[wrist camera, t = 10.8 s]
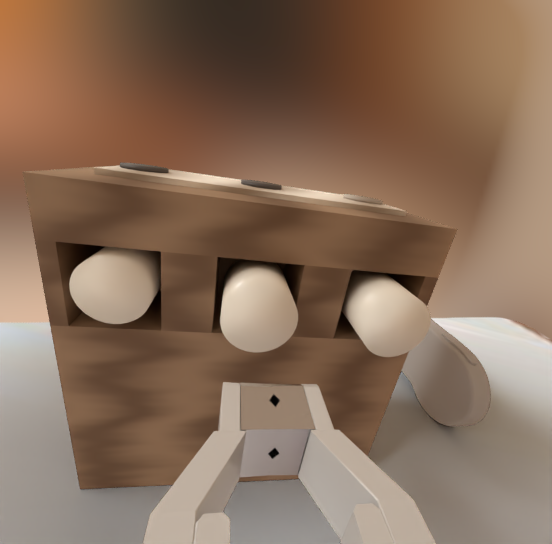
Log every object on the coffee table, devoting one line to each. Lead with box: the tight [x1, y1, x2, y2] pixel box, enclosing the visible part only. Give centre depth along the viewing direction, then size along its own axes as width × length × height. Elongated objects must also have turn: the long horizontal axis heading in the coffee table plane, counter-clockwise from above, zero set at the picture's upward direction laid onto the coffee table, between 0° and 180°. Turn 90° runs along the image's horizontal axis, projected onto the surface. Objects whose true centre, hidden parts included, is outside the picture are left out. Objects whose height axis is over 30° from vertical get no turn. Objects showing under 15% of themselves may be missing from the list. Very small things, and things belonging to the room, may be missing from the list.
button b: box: [341, 270, 431, 357], centre depth 16 cm, size 4×4×4 cm
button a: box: [69, 246, 161, 324], centre depth 15 cm, size 4×4×4 cm
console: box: [23, 163, 457, 489], centre depth 20 cm, size 20×8×20 cm, turn 98°
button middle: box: [220, 259, 298, 352], centre depth 14 cm, size 4×4×4 cm
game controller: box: [401, 319, 491, 427], centre depth 33 cm, size 20×2×8 cm, turn 9°
